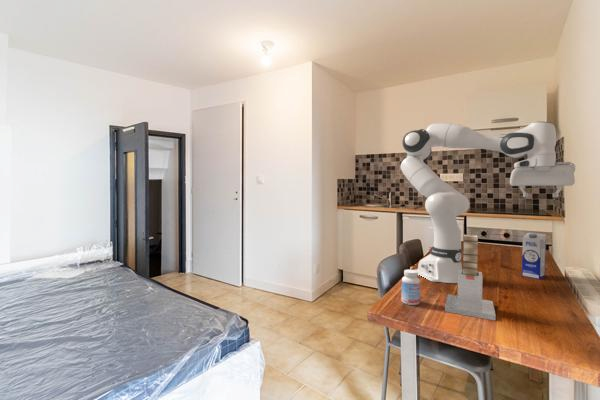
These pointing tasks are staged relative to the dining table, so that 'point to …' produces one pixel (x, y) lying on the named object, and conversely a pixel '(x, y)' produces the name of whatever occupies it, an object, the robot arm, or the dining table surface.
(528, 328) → the dining table surface
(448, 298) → the sleeve
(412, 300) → the pill bottle
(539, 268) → the milk carton
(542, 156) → the robot arm
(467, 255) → the post
